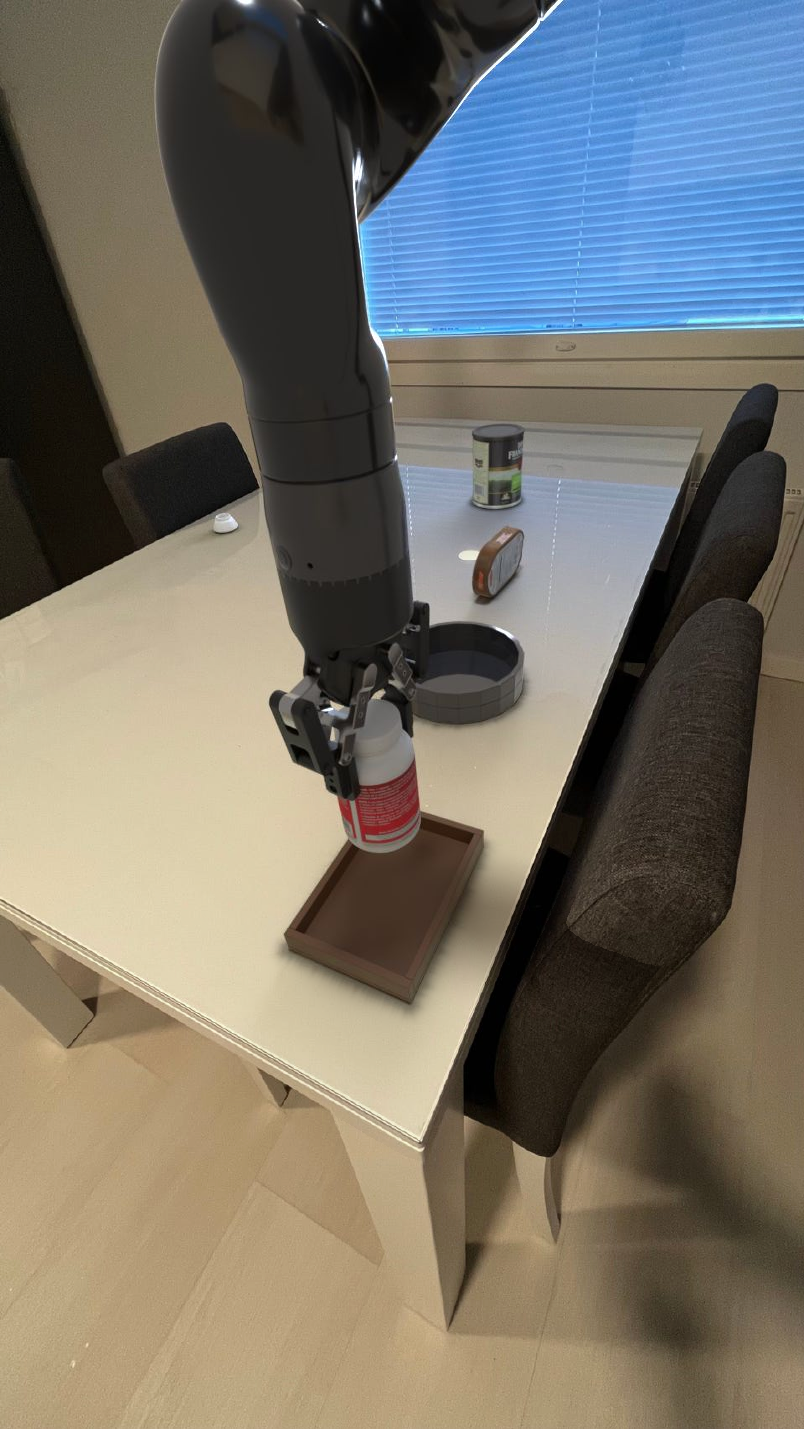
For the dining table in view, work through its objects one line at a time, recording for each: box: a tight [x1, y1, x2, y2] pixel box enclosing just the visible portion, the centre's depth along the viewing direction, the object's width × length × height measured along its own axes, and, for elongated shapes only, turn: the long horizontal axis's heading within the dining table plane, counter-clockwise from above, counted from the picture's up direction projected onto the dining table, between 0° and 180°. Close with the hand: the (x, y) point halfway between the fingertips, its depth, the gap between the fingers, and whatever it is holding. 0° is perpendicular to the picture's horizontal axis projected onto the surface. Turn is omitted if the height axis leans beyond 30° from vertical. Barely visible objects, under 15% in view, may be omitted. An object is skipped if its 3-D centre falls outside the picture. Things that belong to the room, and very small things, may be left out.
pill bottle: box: [333, 698, 421, 853], centre depth 45 cm, size 6×6×11 cm
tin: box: [471, 525, 525, 598], centre depth 96 cm, size 15×3×8 cm, turn 149°
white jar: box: [212, 512, 239, 534], centre depth 127 cm, size 5×3×5 cm
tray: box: [283, 810, 485, 1004], centre depth 53 cm, size 16×11×2 cm
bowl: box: [407, 620, 526, 725], centre depth 77 cm, size 16×16×4 cm
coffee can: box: [471, 423, 525, 510], centre depth 124 cm, size 10×10×14 cm
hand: (374, 763), depth 44 cm, fingers closed on pill bottle, 6 cm apart
